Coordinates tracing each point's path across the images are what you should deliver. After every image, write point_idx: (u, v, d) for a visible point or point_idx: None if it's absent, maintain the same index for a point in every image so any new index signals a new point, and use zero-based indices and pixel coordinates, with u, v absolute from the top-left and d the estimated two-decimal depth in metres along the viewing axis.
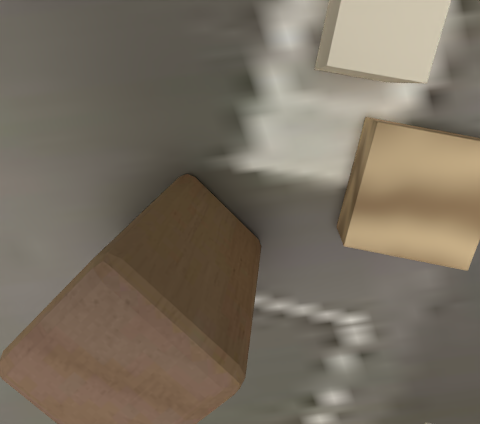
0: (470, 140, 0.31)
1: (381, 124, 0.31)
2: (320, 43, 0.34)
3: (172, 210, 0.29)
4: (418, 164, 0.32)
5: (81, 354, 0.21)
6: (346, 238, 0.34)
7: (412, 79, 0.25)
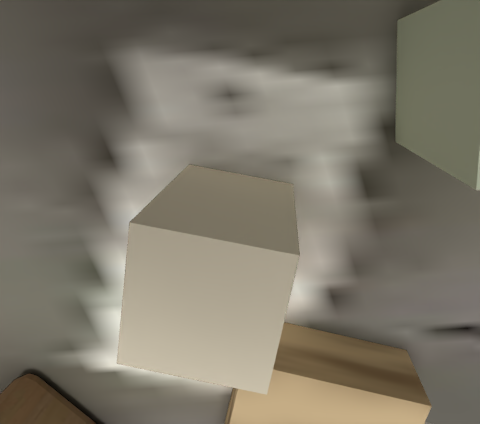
0: (371, 393, 0.22)
1: None
2: None
3: None
4: (303, 415, 0.23)
5: None
6: None
7: (245, 388, 0.16)
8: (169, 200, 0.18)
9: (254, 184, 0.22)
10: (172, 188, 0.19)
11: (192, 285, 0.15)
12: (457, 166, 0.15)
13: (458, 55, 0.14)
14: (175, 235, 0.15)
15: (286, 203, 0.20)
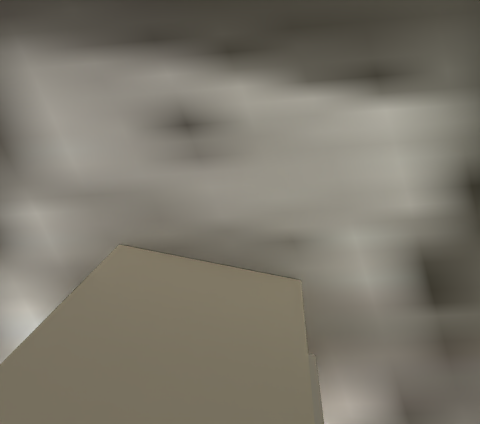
0: None
1: None
2: None
3: None
4: None
5: None
6: None
7: None
8: (7, 398, 0.07)
9: (230, 293, 0.12)
10: (44, 338, 0.09)
11: None
12: None
13: None
14: None
15: (291, 358, 0.10)
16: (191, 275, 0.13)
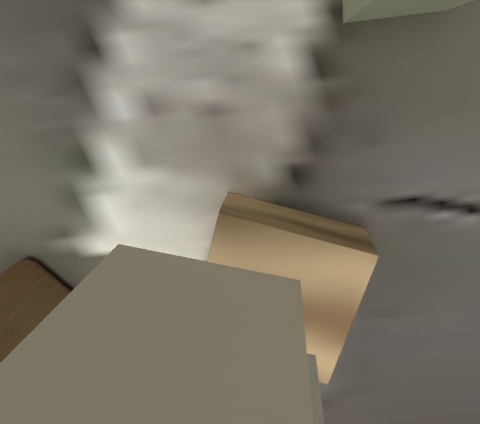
0: (328, 243, 0.26)
1: (223, 216, 0.26)
2: None
3: None
4: (268, 264, 0.26)
5: None
6: None
7: None
8: (5, 397, 0.07)
9: (229, 292, 0.12)
10: (42, 337, 0.09)
11: None
12: None
13: None
14: None
15: (290, 358, 0.10)
16: (190, 275, 0.13)
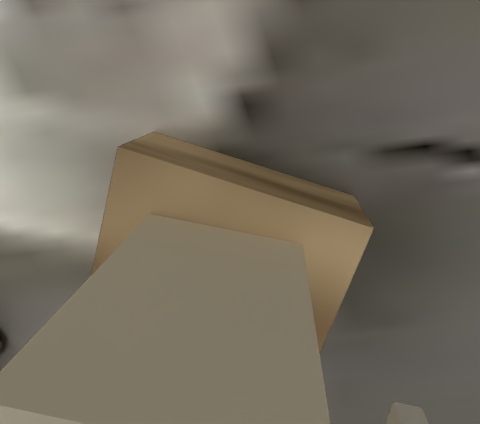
0: (292, 204, 0.16)
1: (125, 152, 0.16)
2: None
3: None
4: None
5: None
6: None
7: None
8: (90, 307, 0.10)
9: (245, 250, 0.15)
10: (106, 273, 0.11)
11: None
12: None
13: None
14: None
15: (296, 294, 0.12)
16: (212, 237, 0.15)
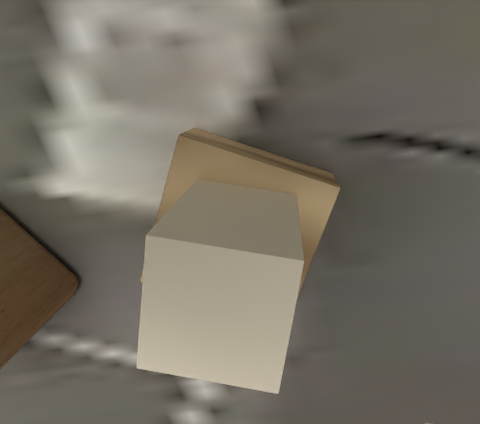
0: (289, 172, 0.25)
1: (183, 138, 0.25)
2: None
3: None
4: None
5: None
6: None
7: (257, 388, 0.17)
8: (180, 213, 0.19)
9: (260, 195, 0.24)
10: (183, 202, 0.21)
11: (205, 292, 0.16)
12: None
13: None
14: (188, 246, 0.16)
15: (290, 213, 0.21)
16: (238, 190, 0.24)
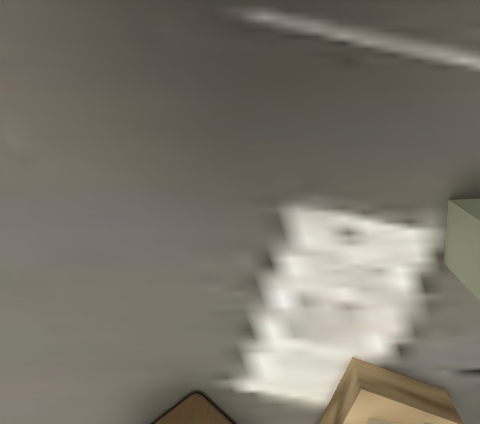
0: (431, 414, 0.38)
1: (364, 391, 0.38)
2: None
3: None
4: None
5: None
6: None
7: None
8: None
9: None
10: None
11: None
12: None
13: None
14: None
15: None
16: None
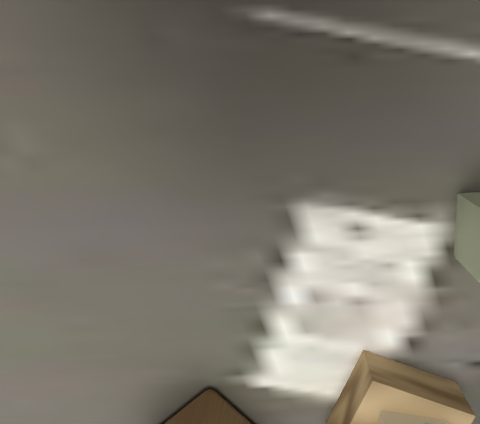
0: (443, 405, 0.39)
1: (375, 382, 0.39)
2: None
3: None
4: None
5: None
6: None
7: None
8: None
9: None
10: None
11: None
12: None
13: None
14: None
15: None
16: None
